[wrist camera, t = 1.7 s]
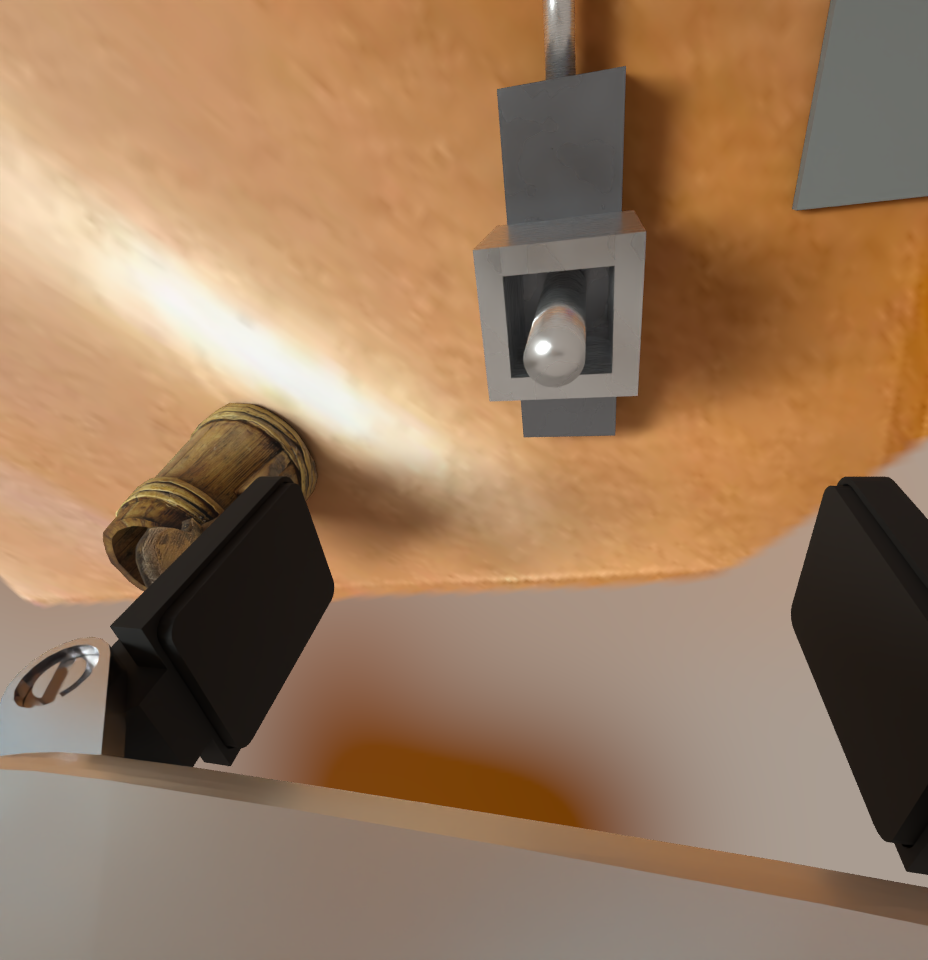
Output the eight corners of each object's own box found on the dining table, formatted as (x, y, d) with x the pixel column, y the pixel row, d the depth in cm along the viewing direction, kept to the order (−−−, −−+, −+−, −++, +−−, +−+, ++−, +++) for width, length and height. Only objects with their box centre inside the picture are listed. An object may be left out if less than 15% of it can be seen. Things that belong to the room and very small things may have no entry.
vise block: (494, -64, 20) (406, -244, 11) (626, -97, 19) (666, -334, 9) (527, 417, 32) (500, 545, 22) (613, 414, 30) (625, 549, 21)
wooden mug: (392, 474, 36) (257, 709, 21) (252, 520, 41) (66, 734, 27) (321, 359, 32) (98, 549, 18) (177, 427, 37) (-88, 616, 23)
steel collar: (496, 226, 24) (472, 250, 19) (633, 209, 22) (646, 231, 18) (507, 352, 27) (489, 401, 22) (628, 345, 26) (637, 395, 21)
